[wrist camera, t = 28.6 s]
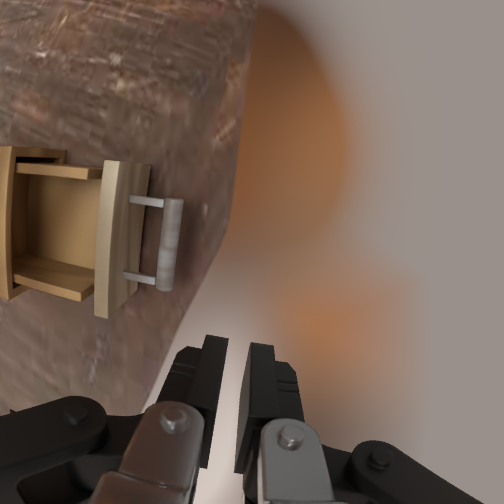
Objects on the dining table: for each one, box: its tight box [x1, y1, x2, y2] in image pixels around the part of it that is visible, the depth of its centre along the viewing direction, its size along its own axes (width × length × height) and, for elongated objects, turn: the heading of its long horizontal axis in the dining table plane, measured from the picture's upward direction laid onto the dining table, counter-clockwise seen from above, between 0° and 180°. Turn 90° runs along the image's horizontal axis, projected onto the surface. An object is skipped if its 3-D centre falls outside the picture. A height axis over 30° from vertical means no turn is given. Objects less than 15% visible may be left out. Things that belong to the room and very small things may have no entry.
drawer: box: [11, 160, 184, 319], centre depth 24 cm, size 18×11×7 cm, turn 80°
